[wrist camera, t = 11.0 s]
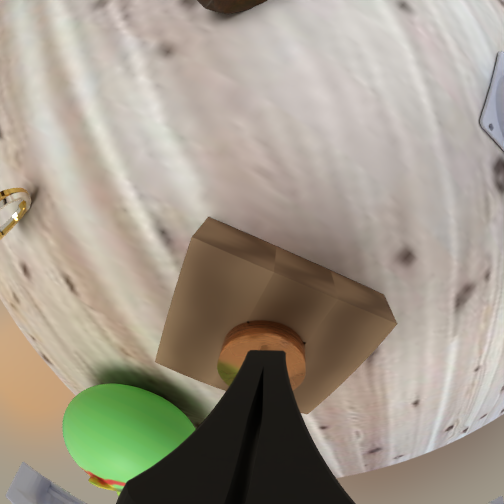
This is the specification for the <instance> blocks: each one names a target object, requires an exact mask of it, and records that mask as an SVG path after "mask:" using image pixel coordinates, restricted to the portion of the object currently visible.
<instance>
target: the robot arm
mask: <svg viewBox="0 0 504 504" xmlns="http://www.w3.org/2000/svg"><path fill="white" fill-rule="evenodd" d="M480 124H481V126H482V128H483V129H484V130H485V131H486V132H487V133H488V134H489V135H490V136H491V137H492V138H493V139H494V141H495V142H496V143H497V144H498V145H499V146H500V147H501V148H502V150H503V151H504V52H503V51H501V52H499V53H498V57H497V62H496V66H495V70H494V75H493V79H492V82H491V86H490V90H489V93H488V97H487V100H486V103H485V106H484V109H483V112H482V115H481V118H480ZM489 125H490V129H489ZM6 497H7V499H9V500H10V501H11V502H12V503H13V504H87V503H85V502H83V501H81V500H80V499H78V498H76V497H75V496H73V495H71V494H70V493H69V492H68V491H66V490H64V489H63V488H61V487H60V486H58V485H56V484H55V483H53V482H52V481H50V480H49V479H47V478H45V477H44V476H42V475H41V474H40V473H38V472H37V471H36V470H34V469H33V468H31V467H30V466H29V465H27V464H26V463H25V462H22V464H21V466H20V468H19V470H18V472H17V473H16V475H15V477H14V479H13V481H12V483H11V485H10V487H9V489H8V492H7V494H6ZM116 504H355V503H354V501H353V500H352V499H351V498H350V497H349V495H348V494H347V493H346V492H345V491H344V489H343V488H342V486H341V485H340V484H339V483H338V481H337V479H336V478H335V476H334V475H333V474H332V472H331V470H330V469H329V467H328V466H327V464H326V462H325V461H324V459H323V458H322V456H321V454H320V453H319V451H318V449H317V447H316V445H315V443H314V441H313V440H312V438H311V436H310V433H309V431H308V429H307V427H306V425H305V423H304V420H303V418H302V415H301V413H300V410H299V408H298V405H297V402H296V400H295V396H294V393H293V390H292V387H291V383H290V380H289V375H288V371H287V365H286V352H284V351H278V350H250V351H248V353H247V355H246V357H245V360H244V362H243V364H242V366H241V368H240V369H239V371H238V373H237V375H236V377H235V378H234V380H233V381H232V383H231V385H230V386H229V388H228V389H227V391H226V392H225V394H224V395H223V397H222V398H221V400H220V401H219V402H218V404H217V405H216V406H215V408H214V409H213V410H212V411H211V413H210V414H209V415H208V416H207V418H206V419H205V420H204V421H203V422H202V423H201V424H200V425H199V427H198V428H197V429H196V430H195V431H194V432H193V433H192V434H191V435H190V436H189V437H188V438H187V439H186V440H184V441H183V442H182V443H181V444H180V445H179V446H178V447H177V448H176V449H174V450H173V451H172V452H171V453H169V454H168V455H167V456H165V457H164V458H163V459H161V460H160V461H159V462H157V463H156V464H155V465H153V466H152V467H150V468H149V469H147V470H145V471H144V472H142V473H140V474H139V475H137V476H135V477H134V478H132V479H130V480H128V481H127V482H126V484H125V486H124V487H123V489H122V491H121V493H120V495H119V498H118V500H117V503H116ZM487 504H504V501H503V496H500V497H498V498H496V499H494V500H493V501H491V502H489V503H487Z"/></svg>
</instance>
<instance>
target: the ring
mask: <svg viewBox="0 0 504 504" xmlns="http://www.w3.org/2000/svg"><path fill="white" fill-rule="evenodd" d="M18 200H23V201H22V202H21V203H20V204H19V209H18V210H17V211H16V213H15V214H14V215H13V216H12V217H11V218H10V219H9V220H8V221H7V222H6V223H5V224H4V225H2V226H1V227H0V240H1V239H2V238H3V237H4V236H5V235H6V234H7V233H8V232H9V231H10V230H11V229H12V228H13V227H14V226H15V225H16V224H17V223H18V221H19V220H20V219H21V218H22V217H23V215H24V214H25V213H26V211H28V210H29V209H30V207H31V206H30V204H31V198H30V196H29V194H28V192H27V190H25V189H23V188H11V189H7V190H4V191H1V192H0V210H1V209H3V208H4V207H5V206H7V205H8V204H10V203H12V202H14V201H18Z"/></svg>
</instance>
